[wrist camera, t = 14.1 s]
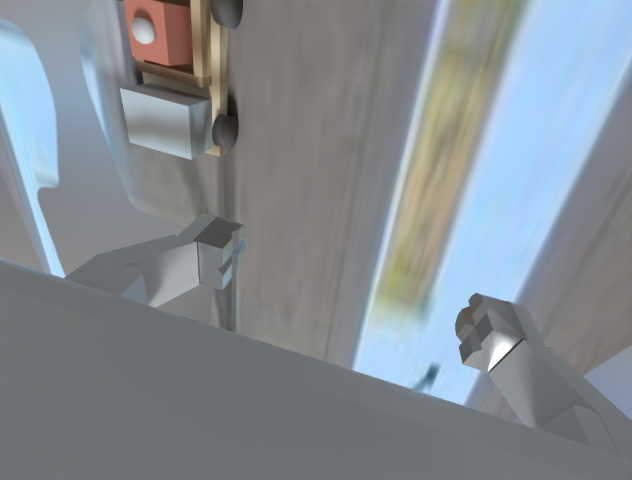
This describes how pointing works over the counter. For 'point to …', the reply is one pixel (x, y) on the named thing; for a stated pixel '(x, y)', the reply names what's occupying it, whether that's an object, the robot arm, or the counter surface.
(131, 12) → the block
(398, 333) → the counter surface
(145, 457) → the robot arm
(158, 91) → the chassis
